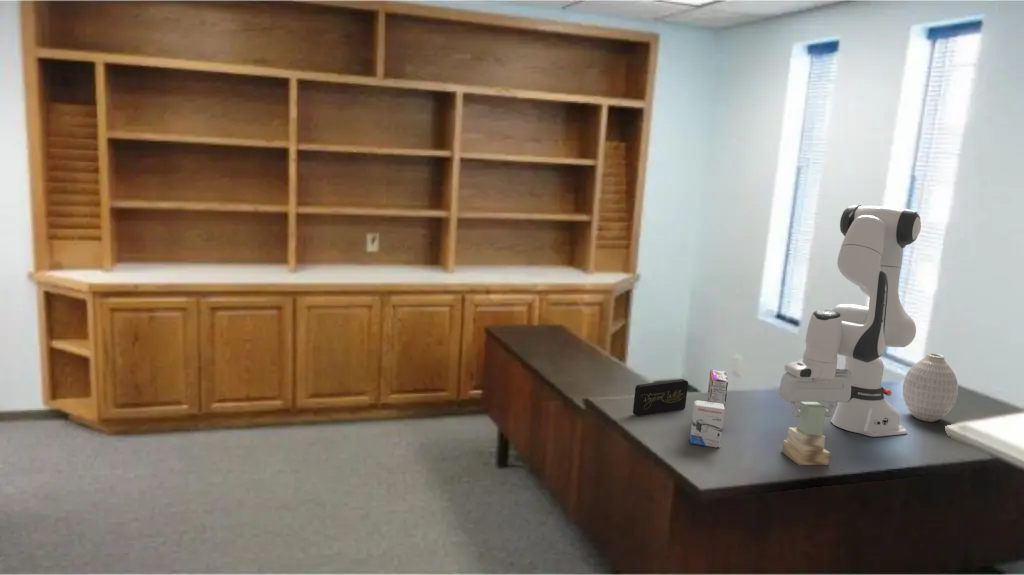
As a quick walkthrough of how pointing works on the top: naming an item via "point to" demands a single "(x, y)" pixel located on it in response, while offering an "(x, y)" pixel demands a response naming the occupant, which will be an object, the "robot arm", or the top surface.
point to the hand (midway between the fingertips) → (811, 416)
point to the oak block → (806, 455)
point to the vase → (930, 388)
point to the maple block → (805, 440)
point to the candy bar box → (717, 387)
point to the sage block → (811, 418)
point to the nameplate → (660, 397)
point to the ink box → (707, 423)
